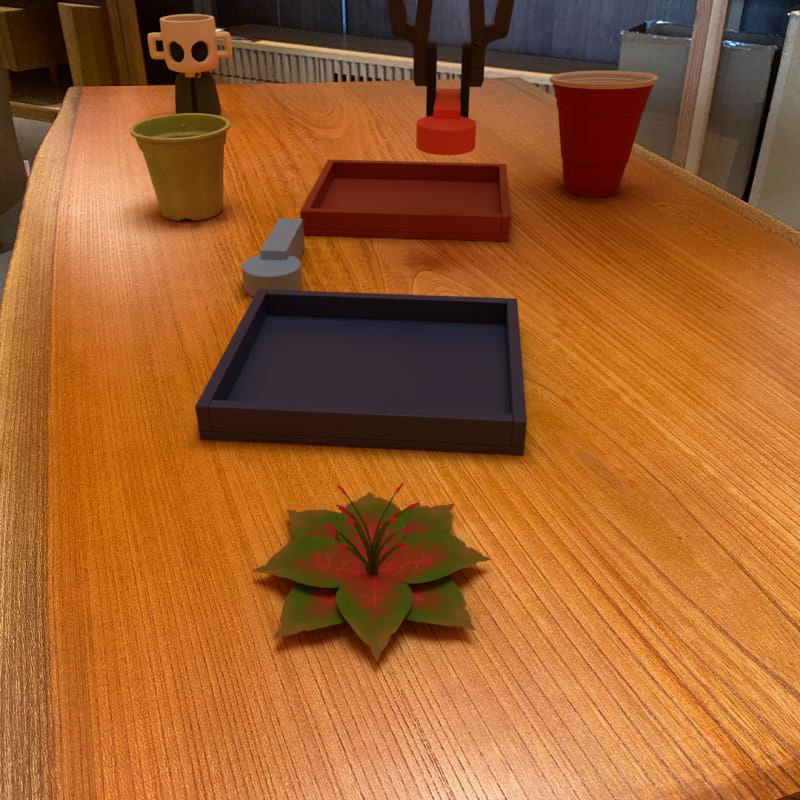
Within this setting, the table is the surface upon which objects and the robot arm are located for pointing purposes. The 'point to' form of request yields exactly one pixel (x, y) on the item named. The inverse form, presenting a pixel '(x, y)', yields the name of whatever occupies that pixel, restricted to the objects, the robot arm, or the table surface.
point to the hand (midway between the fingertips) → (447, 124)
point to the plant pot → (185, 162)
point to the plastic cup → (598, 126)
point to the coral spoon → (446, 127)
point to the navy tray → (371, 373)
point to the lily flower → (372, 569)
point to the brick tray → (409, 200)
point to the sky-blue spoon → (277, 260)
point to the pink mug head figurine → (192, 59)
